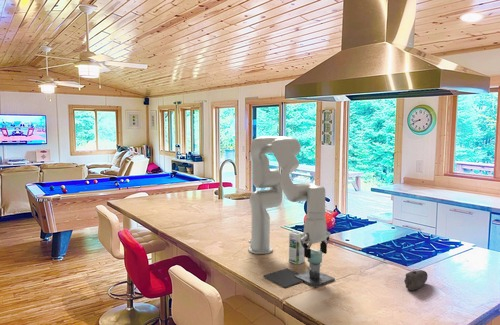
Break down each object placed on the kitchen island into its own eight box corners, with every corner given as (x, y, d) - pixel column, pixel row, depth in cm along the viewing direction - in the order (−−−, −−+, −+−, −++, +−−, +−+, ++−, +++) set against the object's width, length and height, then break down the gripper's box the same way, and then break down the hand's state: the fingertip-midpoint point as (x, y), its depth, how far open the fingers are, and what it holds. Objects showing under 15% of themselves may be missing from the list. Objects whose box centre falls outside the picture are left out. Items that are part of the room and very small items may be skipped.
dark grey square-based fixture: (294, 277, 160) (294, 259, 159) (313, 271, 167) (314, 254, 166) (315, 287, 150) (315, 268, 149) (334, 280, 157) (335, 262, 157)
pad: (263, 276, 161) (263, 275, 161) (287, 269, 169) (287, 268, 169) (284, 288, 150) (284, 286, 150) (309, 279, 158) (309, 278, 158)
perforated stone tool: (420, 280, 158) (421, 264, 157) (432, 284, 154) (433, 268, 153) (400, 289, 149) (400, 272, 149) (412, 294, 145) (413, 277, 144)
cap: (304, 260, 158) (304, 249, 158) (314, 257, 162) (314, 246, 162) (315, 264, 154) (315, 253, 153) (324, 261, 157) (325, 250, 157)
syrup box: (288, 261, 178) (288, 232, 177) (295, 258, 183) (296, 230, 181) (297, 265, 174) (298, 235, 173) (305, 261, 179) (305, 232, 177)
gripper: (323, 211, 164) (322, 248, 165) (294, 216, 154) (294, 257, 155) (336, 214, 158) (336, 253, 159) (307, 220, 148) (307, 262, 149)
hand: (315, 255), depth 157 cm, fingers open, 9 cm apart
